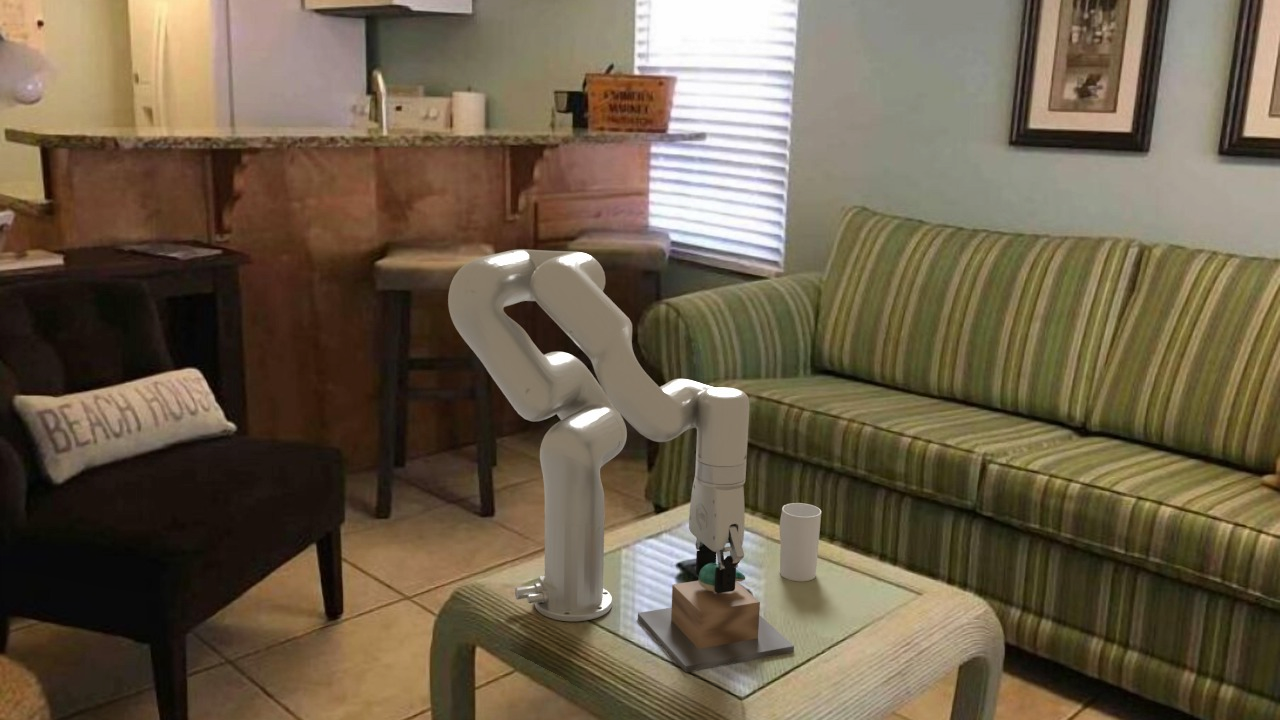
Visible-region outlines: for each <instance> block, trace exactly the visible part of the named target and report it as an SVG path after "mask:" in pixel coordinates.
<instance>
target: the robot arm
mask: <svg viewBox="0 0 1280 720" xmlns="http://www.w3.org/2000/svg"><path fill="white" fill-rule="evenodd" d="M605 274H606V273H605V271H604V269H603V267H602V265H601V264H600V262H598V260H597V259H596V258H595V257H593V256H592V255H590V254H588V253H585V252H581V251H563V250H540V249H539V250H538V249H512V250H507V251H503V252H499V253H498V252H497V253H493V254H489V255H488V254H487V255H483V256H481V257H478V258H475V259H473V260H470V261H468V262H467V263H466V264H464V265H462V266H461V268H459V269H458V270H457V272H456V273H455V274H454V276H453V278H452V280H451V282H450V285H449V290H448V297H447V298H448V299H447V301H448V303H447V306H448V311H449V314H450V315H449V317H450V318H451V321H452V323H453V325H454V327H455V329H456V331H457V332H458V333H459V335H460V336H461V338H462V339H463V341H464V342H465V343H466V344H467V345H468V346H469V348H470V349H471V350H472V351H473V353H474V354H475V355H476V357H477V358H478V360H480V362H481V363H482V365H483V366H484V368H485V369H486V371H487V372H488V374H489V375H490V376H491V378H492V380H493V381H494V382H495V384H496V385H497V387H498V388H499V389H500V391H501V392H502V394H503V395H504V396H505V398H506V399H507V401H508V402H509V403H510V404H511V406H512V408H513V409H514V410H515V411H516V412H517V414H518V415H519V416H520V417H522V418H523V419H524V420H527V421H529V422H540V421H544V420H547V419H549V418H551V417H554V416H555V415H557V417H558V418H559V419H560V420H559V421H558V422H557V423H555V424H553V425H552V426H551V427H550V428H549V429H548V430H547V432H546V433H545V434H544V436H543V439H542V440H541V441H542V442H541V443H540V448H539V461H540V467H541V473H542V479H543V490H544V575H539V577H538V582H534V583H533V585H528V586H527V585H525V586H517V587H515V588H514V594H515V595H514V596H515V598H516V600H523V599H526V600H527V603H528V604H534V607H535V609H536V610H537V612H538V613H540V614H541V615H542V616H544V617H547V618H549V619H551V620H552V619H553V620H556V621H563V622H585V621H591V620H594V619H598V618H600V617H602V616H604V615H606V614H607V613H608V612H610V610H611V609H612V606H613V597H612V594H611V593H610V592H609V591H608V590H607V589H605V588H604V563H605V562H604V557H605V554H604V553H605V504H606V503H605V493H604V487H603V484H602V480H601V468H602V467H603V466H604V465H605V464H606V463H608V462H610V461H611V460H612V459H614V458H615V457H616V456H618V455H619V453H621V452H622V450H623V448H624V447H625V445H626V443H627V442H626V441H627V435H628V434H627V433H628V432H627V427H626V423H625V420H626V421H627V423H628V424H630V425H631V427H632V428H634V429H635V430H636V431H637V432H638V433H639V434H640V435H642V436H644V437H645V438H646V439H649V440H650V441H653V442H657V443H667V442H670V441H673V440H675V438H677V437H679V436H680V435H682V434H683V433H684V432H685V431H688V430H691V429H696V447H695V448H696V450H695V451H696V453H695V470H694V471H695V473H694V478H693V479H694V480H693V483H692V490H691V496H690V503H689V504H690V505H689V506H690V507H689V516H688V517H689V519H688V529H689V531H690V532H691V534H692V535H693V536H694V537H695V538H696V540H695V541H696V542H695V548H696V557H695V560H696V561H695V574H696V575H697V576H698V577H699V573H700V570H701V569H702V568H703V567H704V566H705V565H707V564H709V563H716V564H718V567H716V570H715V592H716V593H724V592H730V591H734V590H735V579H736V570H737V568H738V567H739V563H740V562H741V560H743V558H744V557H745V552H744V549H743V548H744V547H743V545H744V535H745V521H746V520H745V519H746V518H745V516H746V515H745V513H746V512H745V509H746V508H745V495H744V494H745V493H744V492H745V491H744V485H745V482H746V478H747V477H746V472H747V455H748V440H749V439H748V437H749V419H750V399H749V396H748V395H747V393H745V392H744V391H743V390H740V389H738V388H733V387H725V386H723V387H721V386H720V387H719V386H718V387H717V386H716V387H715V386H711V385H708V384H704V383H701V382H698V381H695V380H692V379H687V378H675V379H672V380H669V381H668V382H666V383H665V384H663V385H661V386H659V384H657V383H656V382H655V381H654V380H653V379H652V378H651V377H650V376H649V374H647V372H646V371H645V370H644V369H643V367H642V366H641V364H640V363H639V361H638V359H637V357H636V355H635V353H634V349H633V343H632V341H633V323H632V321H631V320H630V318H629V317H628V316H627V315H626V314H625V313H624V312H623V311H622V310H621V308H619V307H618V306H617V305H616V304H615V302H613V301H612V299H611V298H610V297H608V295H606V294H605V292H604V289H605V286H606V275H605ZM525 301H527V302H536V303H537V305H538V306H539V307H540V308H541V309H542V310H543V311H544V312H545V313H546V314H547V315H548V316H549V318H551V319H552V321H553V322H554V323H555V324H557V326H558V327H559V328H560V329H561V330H562V331H563V332H564V333H565V334H566V335H567V336H568V337H569V338H570V339H571V340H572V342H573V343H574V344H575V345H576V346H577V347H578V348H579V349H580V350H581V351H582V352H583V353H584V354H585V356H587V357H588V359H589V360H590V362H591V364H592V368H593V370H594V373H595V376H596V377H594V375H593V374H592V372H591V371H590V369H588V367H587V365H585V363H583V361H581V359H579V358H578V357H576V356H574V355H573V354H570V353H568V352H564V351H550V352H547V353H545V354H544V353H542V352H541V350H540V349H539V348H538V347H537V345H536V344H535V343H534V342H533V340H532V339H531V337H530V336H529V334H528V333H527V332H526V330H525V329H524V328H523V327H522V326H521V325H520V324H518V322H516V321H515V320H514V319H512V318H511V317H510V316H508V315H507V313H506V312H505V310H504V308H505V307H509V306H512V305H515V304H518V303H520V302H521V303H522V302H525ZM596 378H597V379H596ZM624 419H625V420H624ZM726 544H729V546H726ZM727 552H729V553H730V555H727V556H726V557H725V556H724V553H727Z"/></svg>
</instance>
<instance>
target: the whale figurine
mask: <svg viewBox="0 0 1280 720" xmlns="http://www.w3.org/2000/svg"><path fill="white" fill-rule="evenodd" d="M716 567H718V563H717V562H716V563H709V564H707V565H705V566H704V567H703V568H702V569H701V570H700V573H699V576H698V581H699V584H700V585H701V586H702V587H703V588H705V589H706V590H709V591H713V592H715V570H716ZM745 580H746V575H744V574H743V572H740V570H738V569H736V579H735V581H736V582H738V583H740V582H743V581H745Z"/></svg>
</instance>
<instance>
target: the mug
mask: <svg viewBox="0 0 1280 720" xmlns="http://www.w3.org/2000/svg"><path fill="white" fill-rule="evenodd" d="M821 518H822V510H821V509H820V508H819V507H817V506H815V505H813V504H809V503H801V502H794V503H793V502H792V503H787V504H784V505H782V508H781V515H780V518H779V540H780V554H779V573H780V575H781V577H783V578H784V579H787V580H789V581H793V582H809V581H812V580H813V579H815V577H816V575H817V564H818V554H819V553H818V552H819V543H820V531H821V529H820V528H821V521H822V519H821Z"/></svg>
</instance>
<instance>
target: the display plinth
mask: <svg viewBox="0 0 1280 720" xmlns="http://www.w3.org/2000/svg"><path fill="white" fill-rule="evenodd" d="M671 585H672V588H671V607H665V608H661V609H654V610H647V611H641V612H638V613H637V620H638V621H639V622H640V623H641V625H643V627H644V628H645V629H646V630H647V631H648V632H649V633H650V635H652V636H653V638H654V639H655V640H656V641H657V642H658V643H659V645H660V646H662V648H663V649H664V650H665V652H667V654H668V655H669V656H670V657H671V658H672V659H673V661H674V662H675V663H676V664H677V665H678V666H679V667H680V669H682V670H683V672H685V673H691V672H695V671H700V670H706V669H712V668H715V667H716V668H717V667H721V666H726V665H732V664H737V663H743V662H749V661H755V660H759V659H765V658H769V657H774V656H779V655H781V656H782V655H785V654H786V655H787V654H790V653H795V645H794V644H793V643H792V642H790V640H788V639H787V638H786V637H785V636H784V635H782V633H781V632H779V631H778V630H777V629H776V628H774V626H772V625H771V623H770V622H768V621H767V620H766V619H765V618H763V616H761V615H760V612H761V611H760V607H761V601H760V600H758V599H757V598H756V597H755V596H754V595H753V594H752V593H751V592H749V591H748V590H747V589H746V588H745V587H744V586H742V585H741V584H740V582H739V581H735V590H734V591H730V592H724V593H716V592H713V591H709V590H706V589H705V588H703V587H702V586H701V585H700V584H699V580H694V581H693V580H692V581H688V582H687V581H686V582H680V583H674V584H671Z"/></svg>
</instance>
